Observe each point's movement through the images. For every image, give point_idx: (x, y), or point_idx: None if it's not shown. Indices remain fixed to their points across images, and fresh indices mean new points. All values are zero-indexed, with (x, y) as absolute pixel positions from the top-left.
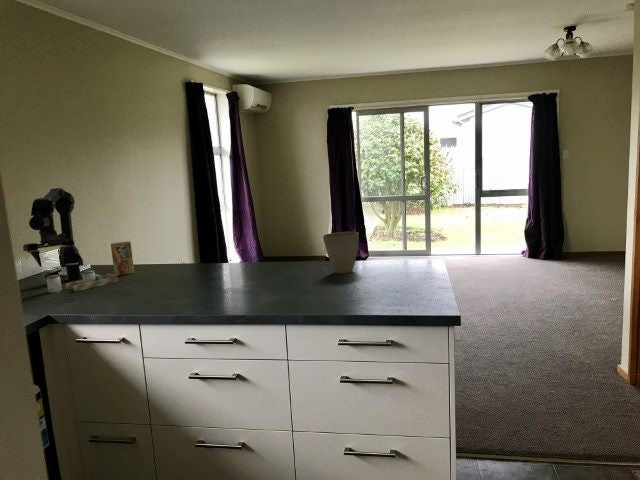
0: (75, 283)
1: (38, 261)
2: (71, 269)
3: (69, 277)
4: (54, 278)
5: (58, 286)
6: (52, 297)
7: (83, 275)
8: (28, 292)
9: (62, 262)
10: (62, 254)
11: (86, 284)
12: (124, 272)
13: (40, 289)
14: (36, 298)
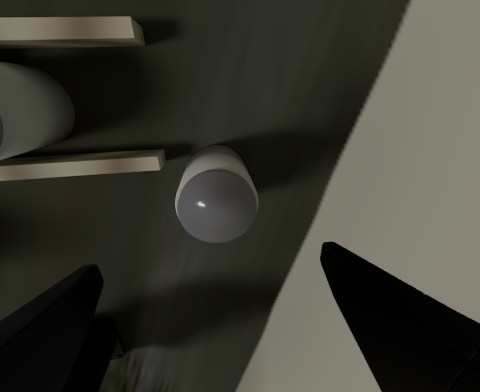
0: (105, 157)
1: (391, 275)
2: (74, 374)
3: (106, 341)
4: (221, 165)
5: (204, 152)
6: (282, 9)
7: (3, 94)
8: (290, 256)
9: (99, 280)
10: (12, 384)
11: (38, 20)
12: None
13: (243, 268)
14: (332, 90)
